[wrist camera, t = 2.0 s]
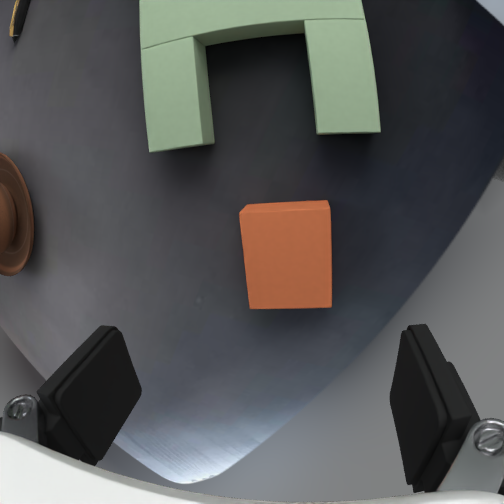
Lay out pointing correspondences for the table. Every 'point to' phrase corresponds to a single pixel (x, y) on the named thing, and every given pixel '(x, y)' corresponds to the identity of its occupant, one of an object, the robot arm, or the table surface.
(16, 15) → the fountain pen
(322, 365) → the table surface
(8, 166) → the cup and saucer
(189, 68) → the base pad
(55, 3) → the table surface
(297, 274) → the orange block
